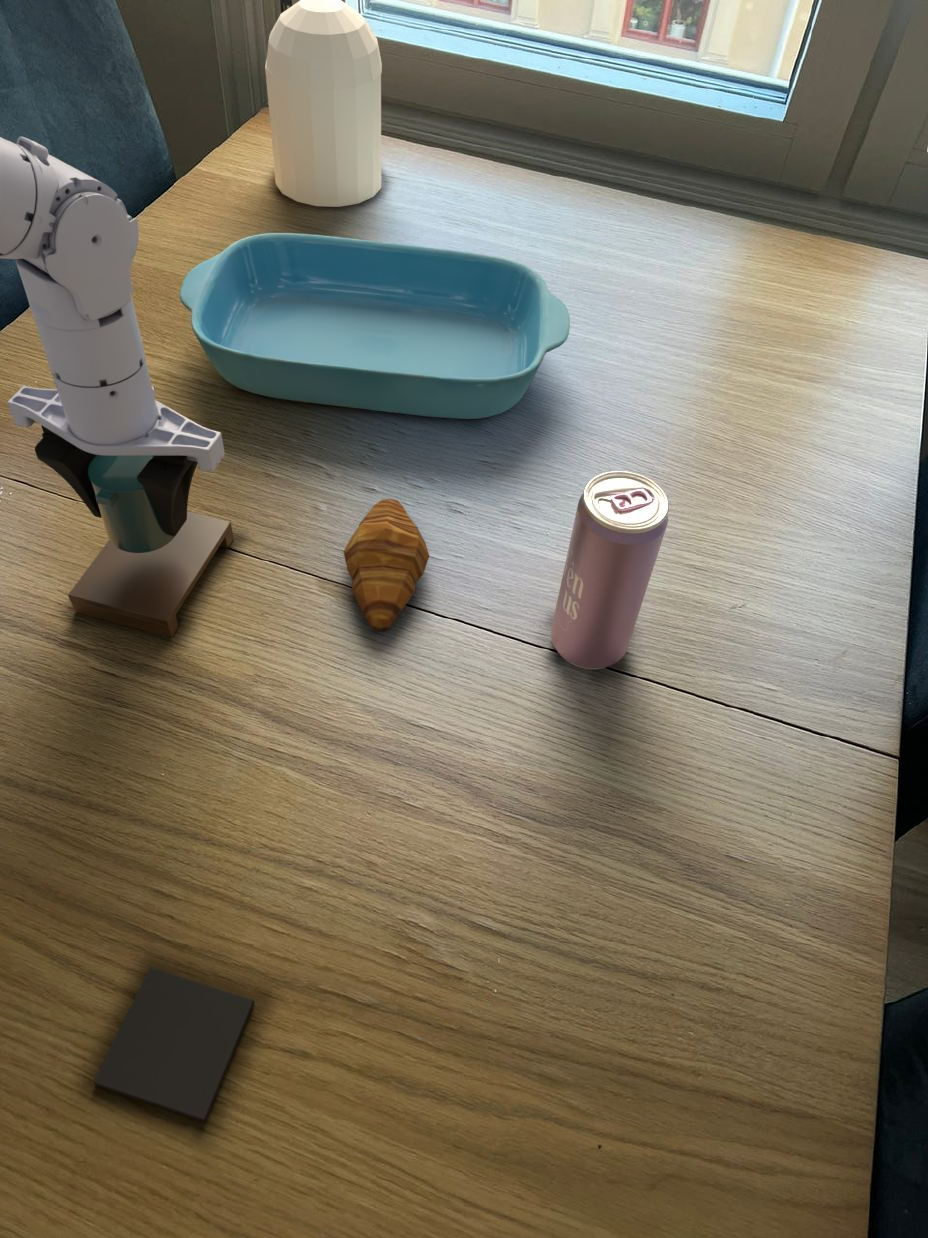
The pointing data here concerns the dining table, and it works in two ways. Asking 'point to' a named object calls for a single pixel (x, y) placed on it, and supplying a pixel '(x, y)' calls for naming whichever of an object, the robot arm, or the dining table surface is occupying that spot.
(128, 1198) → the dining table surface
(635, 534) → the beverage can
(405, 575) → the croissant
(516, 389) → the casserole dish
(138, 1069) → the coaster
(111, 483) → the teal tabbed cylinder
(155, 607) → the plate
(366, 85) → the container
